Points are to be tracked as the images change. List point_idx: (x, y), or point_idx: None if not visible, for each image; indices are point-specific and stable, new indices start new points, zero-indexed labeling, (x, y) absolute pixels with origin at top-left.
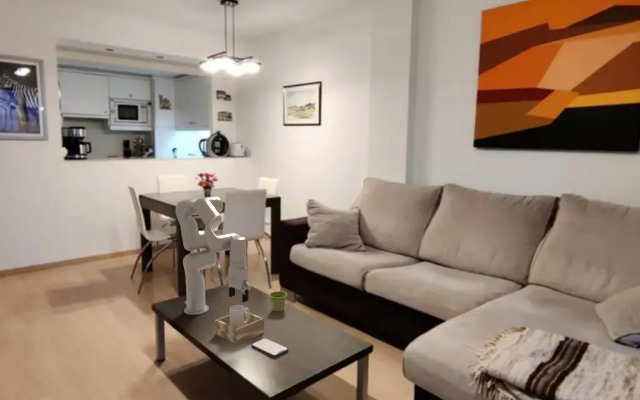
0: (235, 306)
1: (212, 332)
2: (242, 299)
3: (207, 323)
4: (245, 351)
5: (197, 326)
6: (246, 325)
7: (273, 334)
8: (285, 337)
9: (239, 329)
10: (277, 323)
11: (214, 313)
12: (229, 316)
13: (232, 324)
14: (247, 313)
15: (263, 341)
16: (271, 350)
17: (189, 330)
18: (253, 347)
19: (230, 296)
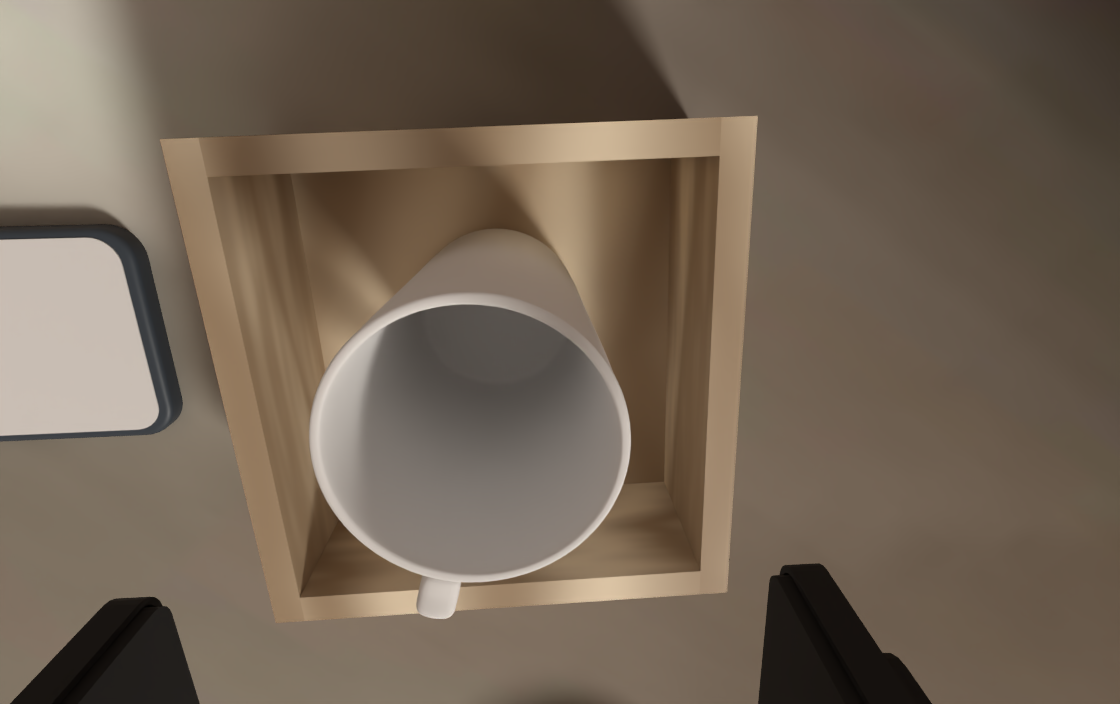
0: (599, 489)
1: (760, 123)
2: (71, 667)
3: (995, 224)
4: (52, 105)
5: (1042, 87)
6: (221, 343)
7: (238, 543)
8: (105, 579)
9: (180, 193)
10: (418, 688)
11: (1111, 423)
12: (705, 365)
13: (462, 248)
14: (580, 575)
15: (97, 371)
16: None
17: None
18: (74, 225)
19: (771, 585)
